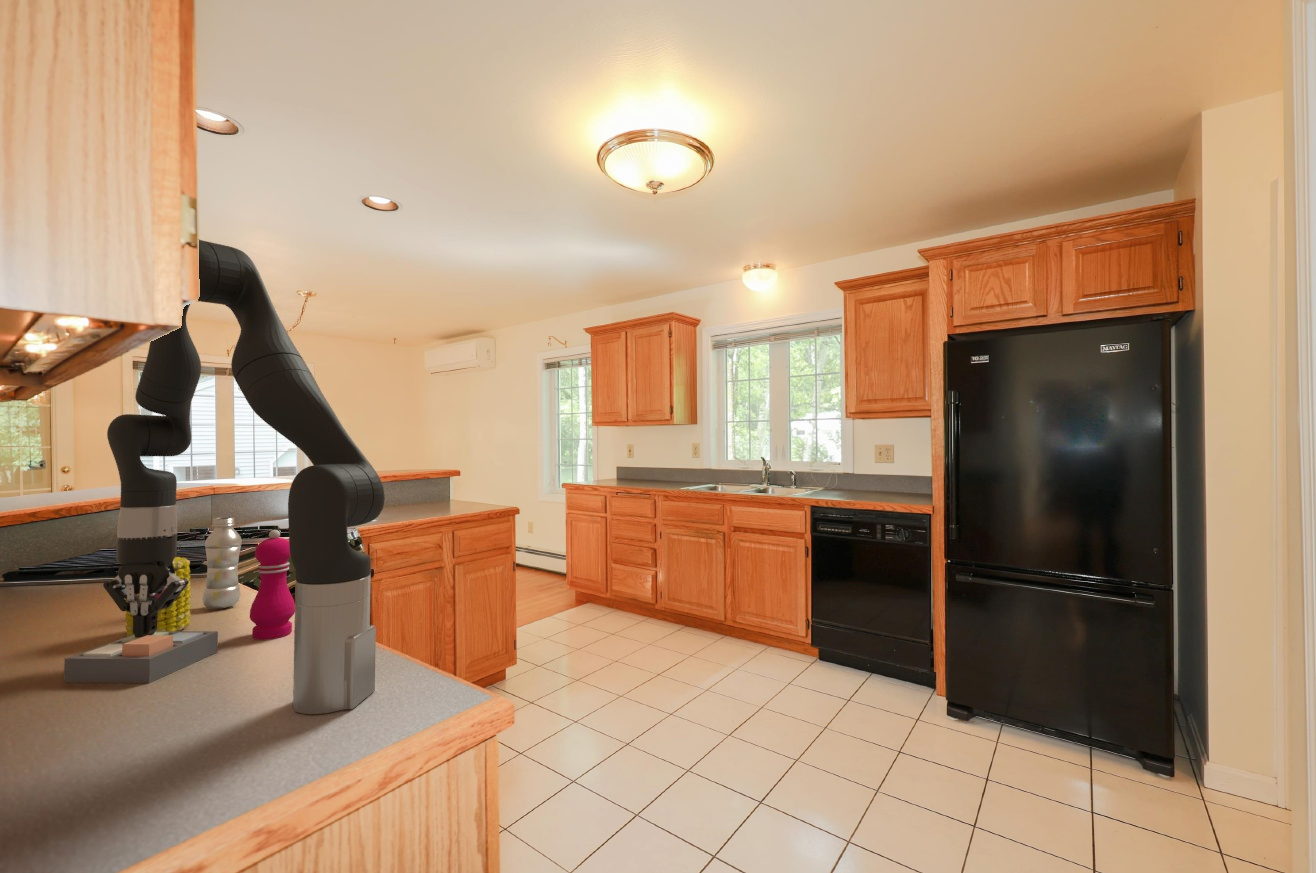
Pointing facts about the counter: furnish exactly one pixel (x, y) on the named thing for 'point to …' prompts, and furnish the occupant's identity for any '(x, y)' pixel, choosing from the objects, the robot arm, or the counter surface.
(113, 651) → the key
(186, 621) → the food
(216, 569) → the plastic bottle
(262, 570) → the pepper mill
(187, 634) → the key
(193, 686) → the counter surface
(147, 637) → the key
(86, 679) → the keypad
